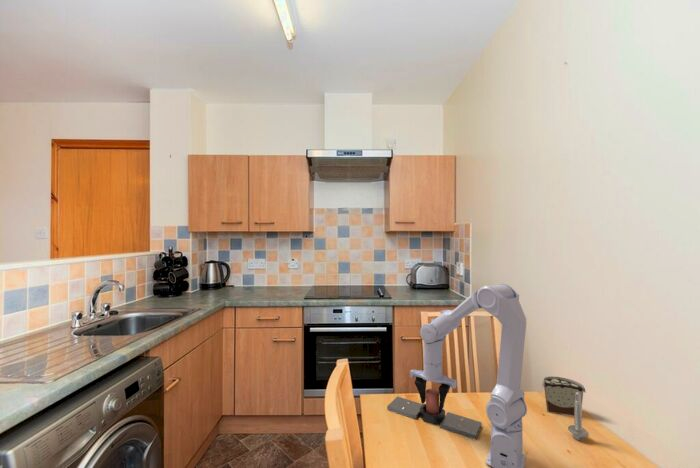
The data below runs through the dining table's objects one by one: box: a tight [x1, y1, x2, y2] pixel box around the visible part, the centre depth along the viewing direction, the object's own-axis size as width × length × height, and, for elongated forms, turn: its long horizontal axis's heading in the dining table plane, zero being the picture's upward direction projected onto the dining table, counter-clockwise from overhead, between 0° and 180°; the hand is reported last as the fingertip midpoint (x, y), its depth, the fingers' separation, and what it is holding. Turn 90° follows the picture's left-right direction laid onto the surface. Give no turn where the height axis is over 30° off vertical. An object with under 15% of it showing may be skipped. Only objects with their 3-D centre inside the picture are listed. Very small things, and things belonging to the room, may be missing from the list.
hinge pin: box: [425, 388, 440, 415], centre depth 98 cm, size 4×4×8 cm
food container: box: [541, 376, 586, 417], centre depth 104 cm, size 12×6×10 cm, turn 74°
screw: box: [567, 392, 590, 442], centre depth 89 cm, size 13×5×5 cm
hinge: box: [386, 396, 482, 440], centre depth 98 cm, size 8×28×2 cm, turn 57°
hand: (432, 404), depth 98 cm, fingers open, 5 cm apart
